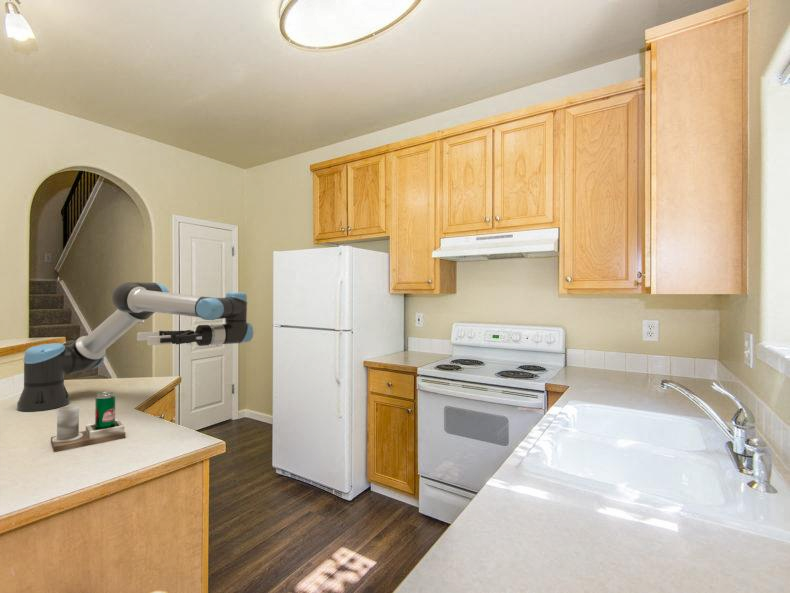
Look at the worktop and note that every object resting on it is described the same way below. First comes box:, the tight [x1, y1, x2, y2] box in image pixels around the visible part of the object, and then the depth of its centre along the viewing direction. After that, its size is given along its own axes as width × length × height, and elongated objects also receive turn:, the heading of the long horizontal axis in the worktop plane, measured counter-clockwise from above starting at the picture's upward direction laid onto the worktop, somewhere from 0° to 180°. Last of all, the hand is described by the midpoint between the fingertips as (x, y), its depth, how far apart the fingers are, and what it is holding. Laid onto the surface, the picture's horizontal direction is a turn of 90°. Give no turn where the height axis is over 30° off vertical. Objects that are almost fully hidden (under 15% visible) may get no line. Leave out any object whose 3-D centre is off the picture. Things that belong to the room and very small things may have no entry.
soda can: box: [94, 391, 116, 430], centre depth 125 cm, size 5×5×12 cm
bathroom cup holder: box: [50, 405, 127, 453], centre depth 123 cm, size 17×10×10 cm, turn 135°
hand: (142, 338), depth 132 cm, fingers open, 13 cm apart
